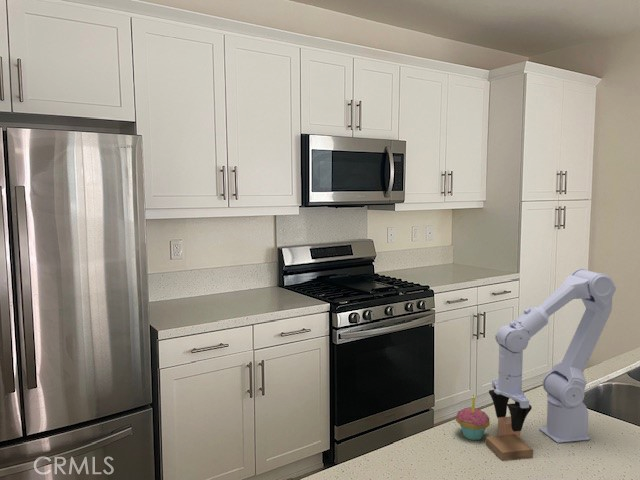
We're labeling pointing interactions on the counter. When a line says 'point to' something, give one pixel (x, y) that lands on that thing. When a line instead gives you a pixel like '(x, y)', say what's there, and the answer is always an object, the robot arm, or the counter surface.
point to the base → (509, 447)
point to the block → (506, 427)
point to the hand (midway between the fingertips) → (508, 424)
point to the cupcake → (473, 421)
